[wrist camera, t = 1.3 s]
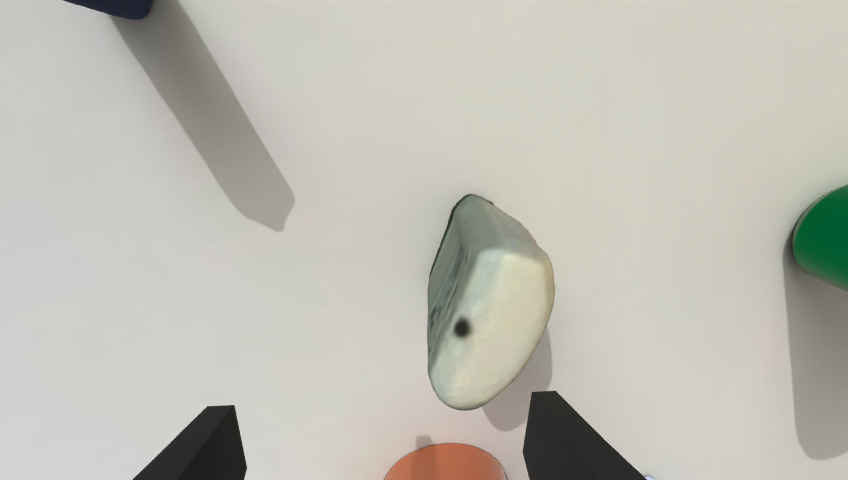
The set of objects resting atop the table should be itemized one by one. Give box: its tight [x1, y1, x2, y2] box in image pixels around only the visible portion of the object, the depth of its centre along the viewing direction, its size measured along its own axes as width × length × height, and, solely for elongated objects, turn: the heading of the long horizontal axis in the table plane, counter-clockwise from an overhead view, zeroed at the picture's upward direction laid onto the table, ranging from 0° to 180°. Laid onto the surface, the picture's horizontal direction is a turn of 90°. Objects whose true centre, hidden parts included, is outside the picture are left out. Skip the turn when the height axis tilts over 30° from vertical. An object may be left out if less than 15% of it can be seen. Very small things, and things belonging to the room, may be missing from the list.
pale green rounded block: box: [427, 194, 555, 410], centre depth 15 cm, size 6×5×8 cm
